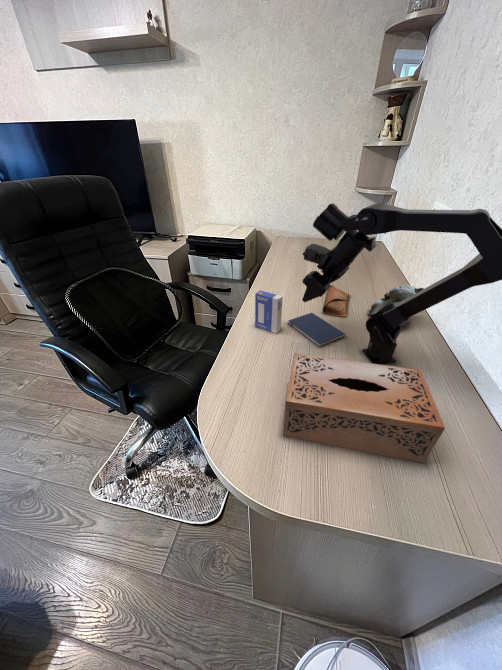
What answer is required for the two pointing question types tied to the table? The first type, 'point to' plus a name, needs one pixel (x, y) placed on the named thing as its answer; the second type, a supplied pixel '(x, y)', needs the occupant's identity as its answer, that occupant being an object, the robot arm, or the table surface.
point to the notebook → (316, 329)
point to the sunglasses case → (335, 302)
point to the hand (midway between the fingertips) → (310, 294)
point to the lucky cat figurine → (398, 298)
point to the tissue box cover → (362, 407)
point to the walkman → (268, 311)
